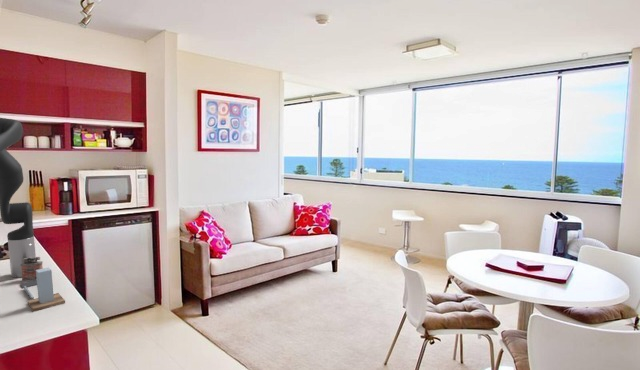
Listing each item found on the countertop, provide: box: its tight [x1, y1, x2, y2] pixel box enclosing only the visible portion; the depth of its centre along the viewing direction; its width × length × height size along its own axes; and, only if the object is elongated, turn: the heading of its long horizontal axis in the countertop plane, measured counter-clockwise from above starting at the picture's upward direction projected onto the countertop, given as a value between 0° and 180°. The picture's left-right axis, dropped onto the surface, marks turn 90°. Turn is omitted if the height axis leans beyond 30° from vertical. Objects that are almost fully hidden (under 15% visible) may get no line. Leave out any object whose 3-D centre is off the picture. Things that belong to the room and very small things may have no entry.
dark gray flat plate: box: [19, 280, 37, 289], centre depth 153 cm, size 6×7×1 cm
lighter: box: [21, 256, 44, 282], centre depth 159 cm, size 8×3×10 cm, turn 105°
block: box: [36, 267, 54, 304], centre depth 135 cm, size 4×4×12 cm
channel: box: [23, 286, 35, 300], centre depth 145 cm, size 16×7×2 cm, turn 48°
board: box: [27, 292, 66, 312], centre depth 135 cm, size 10×10×1 cm
